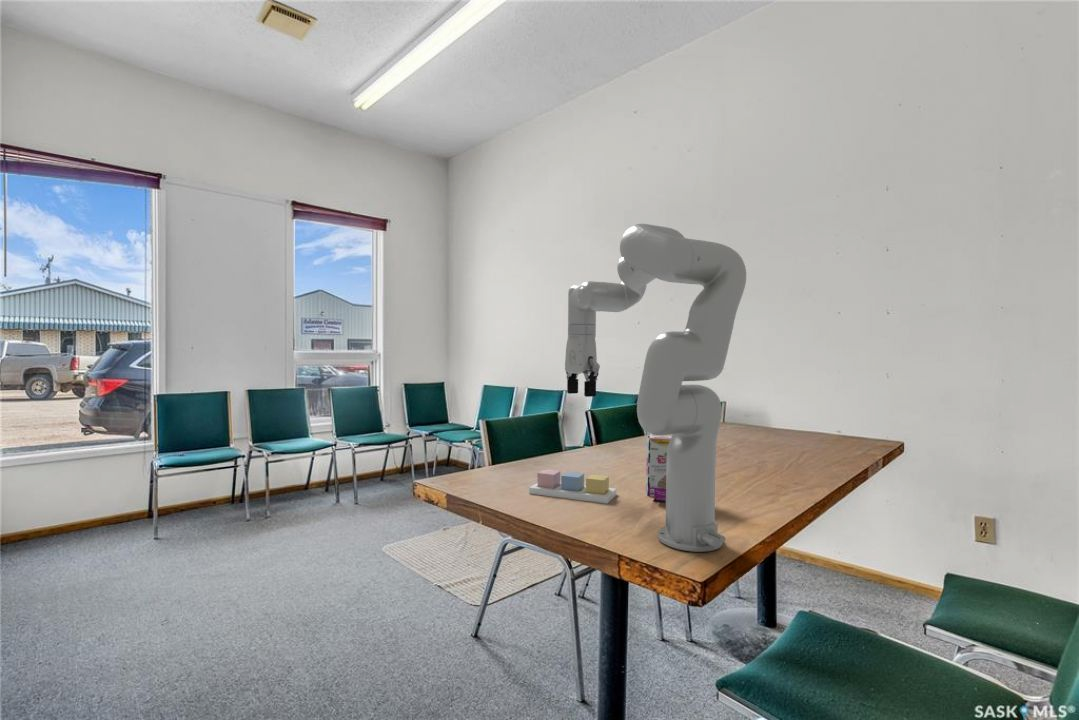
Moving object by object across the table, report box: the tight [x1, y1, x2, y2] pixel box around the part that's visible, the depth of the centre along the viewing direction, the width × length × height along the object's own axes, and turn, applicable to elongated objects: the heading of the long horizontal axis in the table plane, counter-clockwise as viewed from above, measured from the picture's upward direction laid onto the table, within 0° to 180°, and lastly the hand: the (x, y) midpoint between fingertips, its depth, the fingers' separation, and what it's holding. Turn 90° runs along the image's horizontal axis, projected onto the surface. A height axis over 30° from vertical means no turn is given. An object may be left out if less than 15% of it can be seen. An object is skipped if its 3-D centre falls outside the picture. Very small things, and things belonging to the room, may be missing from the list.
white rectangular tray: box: [528, 481, 617, 504], centre depth 131 cm, size 21×8×3 cm, turn 67°
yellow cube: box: [585, 474, 610, 495], centre depth 129 cm, size 5×5×5 cm
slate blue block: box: [560, 471, 585, 492], centre depth 131 cm, size 5×5×5 cm
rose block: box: [536, 469, 561, 489], centre depth 134 cm, size 5×5×5 cm
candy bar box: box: [645, 434, 672, 503], centre depth 131 cm, size 11×5×16 cm, turn 84°
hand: (581, 394), depth 138 cm, fingers open, 9 cm apart
